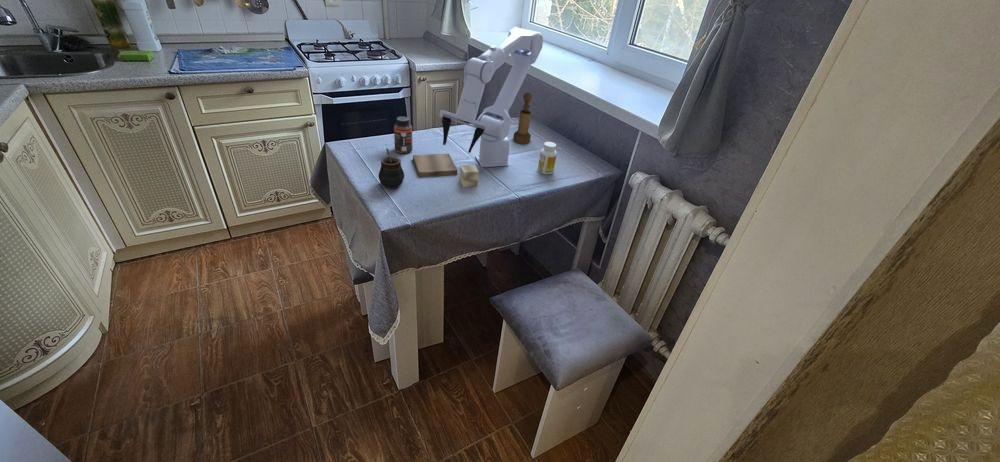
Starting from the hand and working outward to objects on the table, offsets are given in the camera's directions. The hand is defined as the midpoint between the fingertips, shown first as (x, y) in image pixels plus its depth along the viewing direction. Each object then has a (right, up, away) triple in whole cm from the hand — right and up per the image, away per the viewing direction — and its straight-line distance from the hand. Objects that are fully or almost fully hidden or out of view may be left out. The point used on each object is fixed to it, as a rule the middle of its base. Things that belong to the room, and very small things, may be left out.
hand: (456, 148), depth 127 cm
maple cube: (+3, -9, +6) cm, 12 cm away
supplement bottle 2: (+28, -4, +18) cm, 34 cm away
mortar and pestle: (+21, +10, +38) cm, 44 cm away
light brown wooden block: (-9, -4, +13) cm, 16 cm away
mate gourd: (-19, -11, +1) cm, 22 cm away
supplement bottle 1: (-20, +3, +20) cm, 29 cm away
